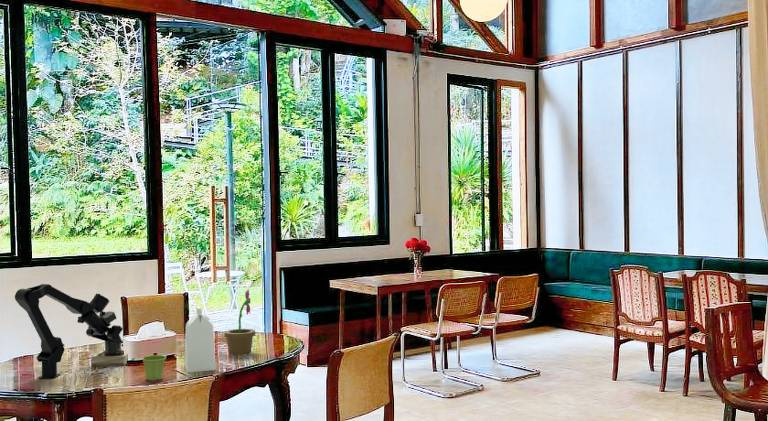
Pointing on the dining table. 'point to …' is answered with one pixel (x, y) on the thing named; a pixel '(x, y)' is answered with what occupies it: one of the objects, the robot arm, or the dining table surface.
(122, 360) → the box
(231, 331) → the flowerpot
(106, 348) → the supplement bottle
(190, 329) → the milk
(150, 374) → the plant pot
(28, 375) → the dining table surface
